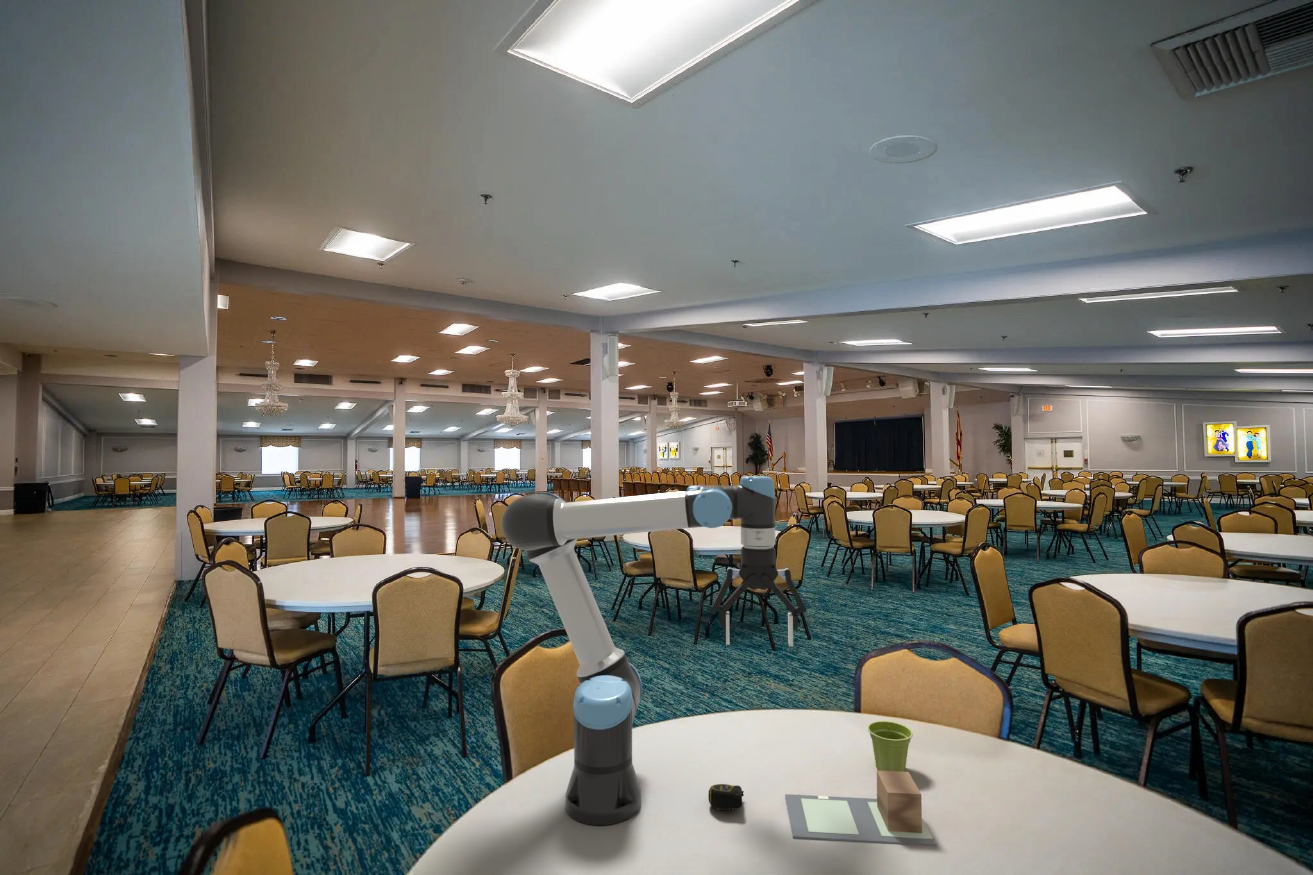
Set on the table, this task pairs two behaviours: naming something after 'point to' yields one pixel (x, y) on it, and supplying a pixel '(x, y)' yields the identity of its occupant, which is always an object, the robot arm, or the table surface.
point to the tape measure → (725, 796)
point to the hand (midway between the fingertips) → (759, 643)
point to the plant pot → (890, 745)
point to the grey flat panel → (845, 821)
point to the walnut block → (899, 801)
